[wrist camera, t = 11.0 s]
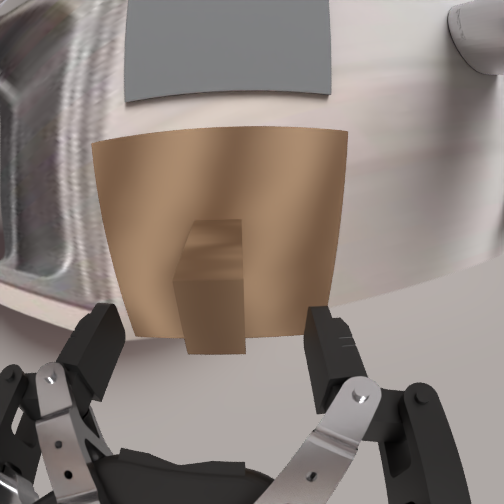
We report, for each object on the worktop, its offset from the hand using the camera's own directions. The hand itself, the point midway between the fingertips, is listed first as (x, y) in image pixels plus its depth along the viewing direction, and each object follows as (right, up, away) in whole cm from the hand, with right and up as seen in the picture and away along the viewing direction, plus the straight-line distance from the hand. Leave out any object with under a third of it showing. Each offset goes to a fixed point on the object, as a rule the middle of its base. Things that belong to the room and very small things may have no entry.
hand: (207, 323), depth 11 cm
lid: (0, +3, +6) cm, 7 cm away
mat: (0, +24, +6) cm, 25 cm away
